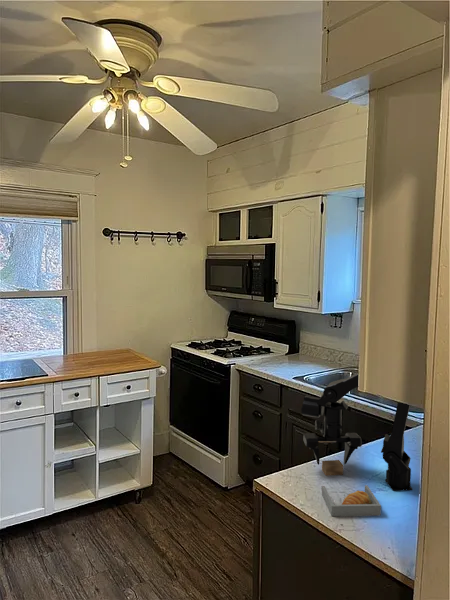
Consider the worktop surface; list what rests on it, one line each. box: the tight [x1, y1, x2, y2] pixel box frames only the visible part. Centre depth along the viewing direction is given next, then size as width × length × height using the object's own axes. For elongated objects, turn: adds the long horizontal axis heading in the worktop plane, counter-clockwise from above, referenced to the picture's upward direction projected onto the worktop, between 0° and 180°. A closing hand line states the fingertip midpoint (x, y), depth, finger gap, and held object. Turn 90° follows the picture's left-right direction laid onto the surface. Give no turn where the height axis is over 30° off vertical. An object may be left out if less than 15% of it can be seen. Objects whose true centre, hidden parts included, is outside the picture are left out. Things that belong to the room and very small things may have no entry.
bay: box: [321, 484, 382, 517], centre depth 136 cm, size 14×11×3 cm
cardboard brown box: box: [321, 459, 344, 477], centre depth 156 cm, size 6×4×4 cm, turn 97°
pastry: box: [341, 490, 372, 505], centre depth 135 cm, size 9×7×4 cm
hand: (331, 463), depth 157 cm, fingers open, 9 cm apart
